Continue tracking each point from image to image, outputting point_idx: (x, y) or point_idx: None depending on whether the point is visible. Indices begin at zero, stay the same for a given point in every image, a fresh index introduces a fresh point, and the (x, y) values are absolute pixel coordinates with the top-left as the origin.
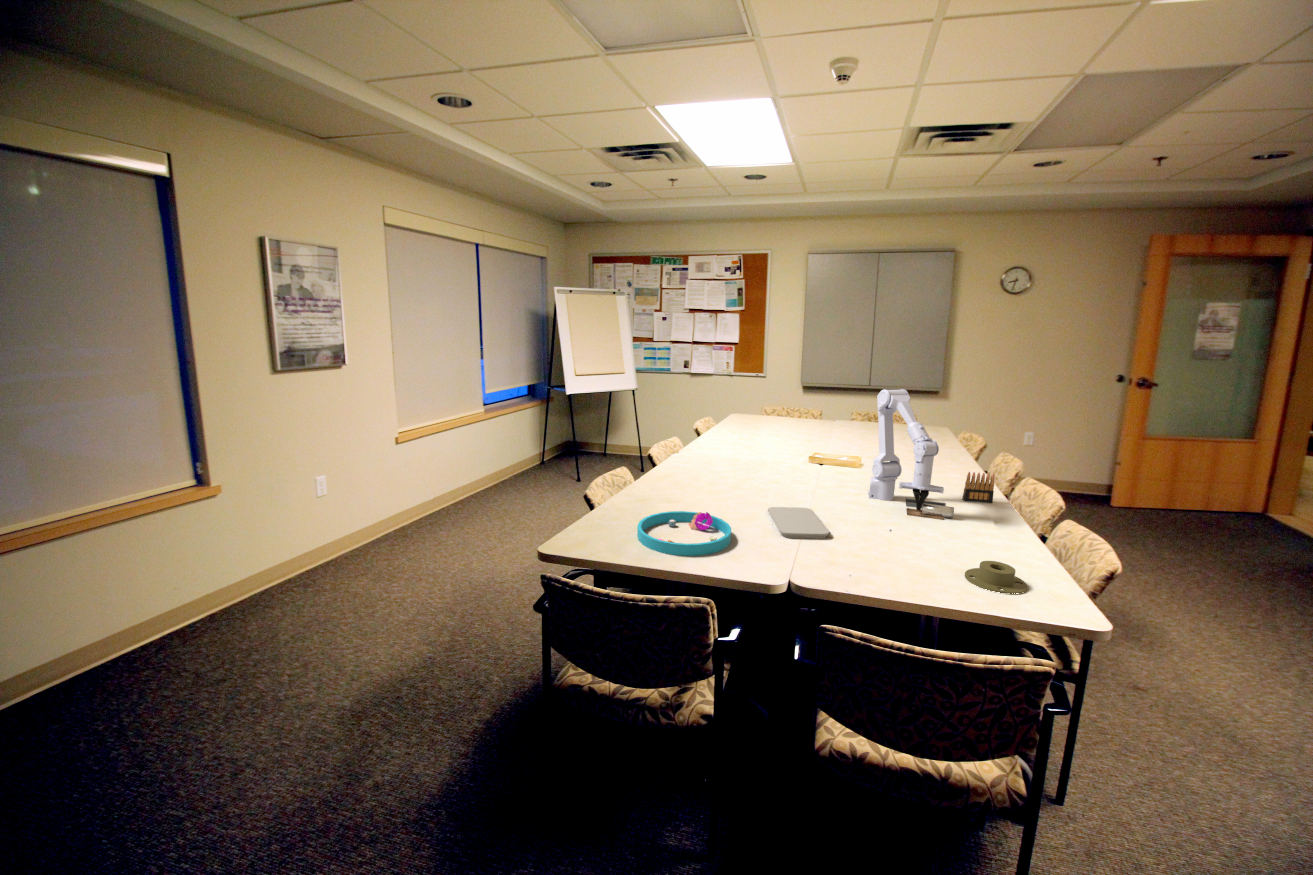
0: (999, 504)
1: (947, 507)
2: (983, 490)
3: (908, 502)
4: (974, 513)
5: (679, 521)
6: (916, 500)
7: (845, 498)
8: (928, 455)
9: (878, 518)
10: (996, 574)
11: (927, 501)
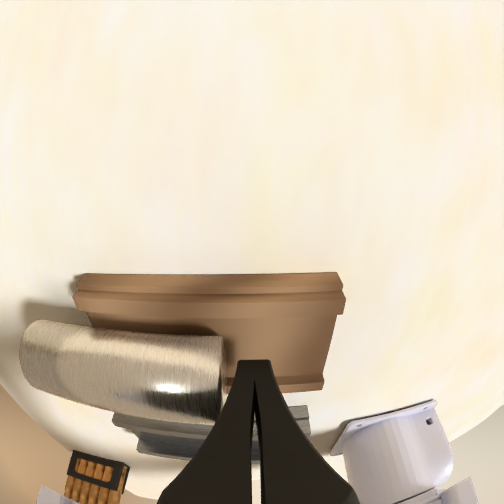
0: (60, 443)
1: (49, 380)
2: (82, 479)
3: None
4: (57, 405)
5: None
6: (292, 430)
7: (490, 373)
8: None
9: (499, 177)
10: None
11: None
